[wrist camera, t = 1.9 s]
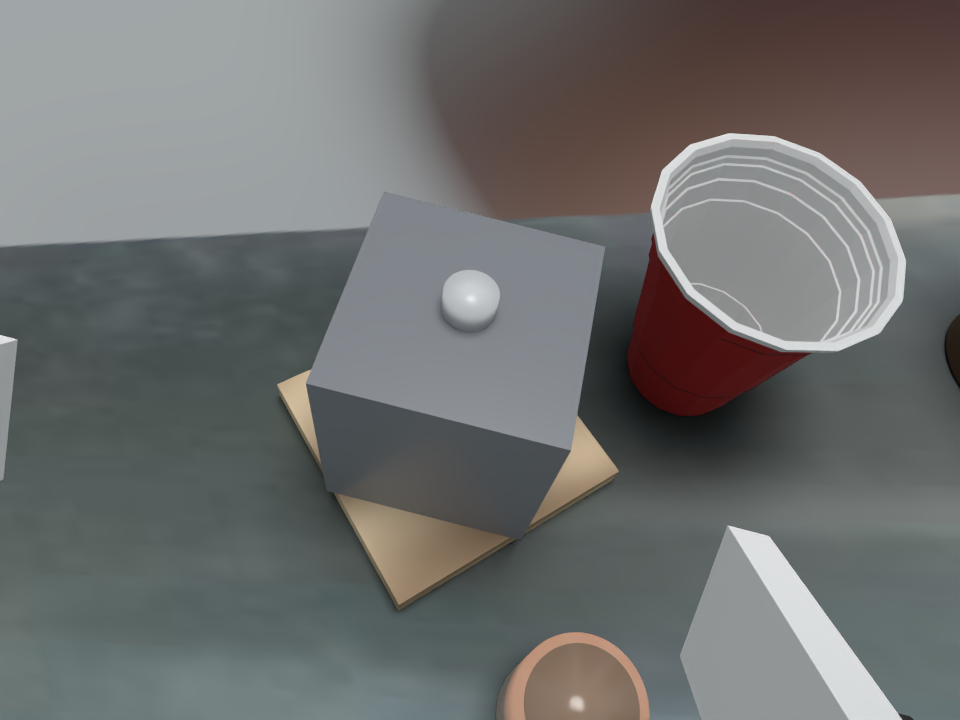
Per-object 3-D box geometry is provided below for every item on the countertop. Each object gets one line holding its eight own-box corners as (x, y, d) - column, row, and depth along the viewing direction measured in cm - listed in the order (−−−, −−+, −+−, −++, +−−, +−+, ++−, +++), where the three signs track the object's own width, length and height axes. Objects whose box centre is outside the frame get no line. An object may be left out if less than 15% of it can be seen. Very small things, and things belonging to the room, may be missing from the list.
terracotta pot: (638, 737, 29) (678, 730, 25) (541, 815, 28) (567, 819, 24) (568, 628, 31) (595, 605, 27) (472, 694, 30) (486, 680, 26)
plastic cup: (622, 485, 35) (719, 362, 25) (556, 307, 40) (615, 144, 30) (810, 445, 38) (970, 317, 27) (726, 282, 43) (834, 123, 32)
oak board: (612, 480, 35) (619, 471, 34) (398, 610, 31) (399, 605, 30) (482, 303, 40) (484, 291, 39) (280, 396, 35) (277, 384, 34)
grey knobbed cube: (553, 372, 37) (612, 229, 27) (520, 540, 32) (578, 437, 23) (383, 329, 37) (384, 173, 27) (326, 490, 32) (302, 368, 23)
